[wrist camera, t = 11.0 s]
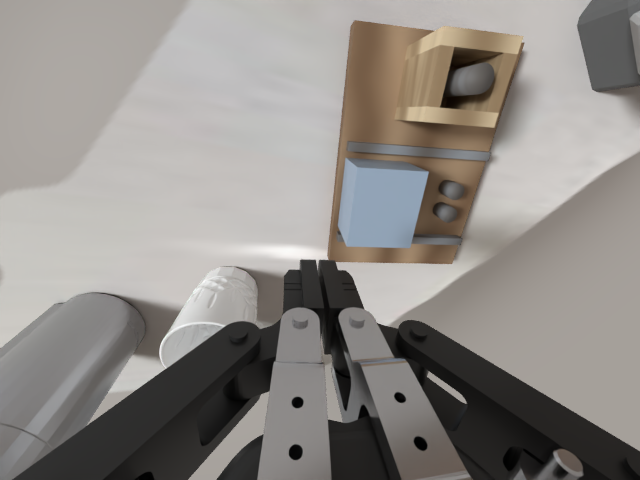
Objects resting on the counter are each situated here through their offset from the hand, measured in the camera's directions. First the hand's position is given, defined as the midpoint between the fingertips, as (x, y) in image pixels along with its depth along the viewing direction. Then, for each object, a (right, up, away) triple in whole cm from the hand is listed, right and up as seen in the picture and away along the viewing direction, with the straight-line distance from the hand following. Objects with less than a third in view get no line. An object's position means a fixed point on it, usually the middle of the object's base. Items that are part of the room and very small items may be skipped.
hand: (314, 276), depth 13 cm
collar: (+10, +15, +11) cm, 21 cm away
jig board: (+9, +10, +15) cm, 20 cm away
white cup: (-11, -4, +20) cm, 23 cm away
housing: (+5, +6, +15) cm, 17 cm away
